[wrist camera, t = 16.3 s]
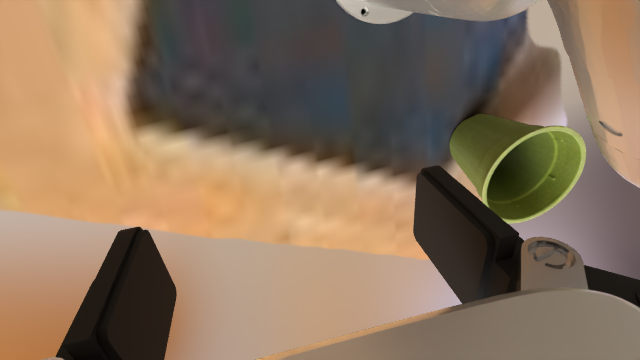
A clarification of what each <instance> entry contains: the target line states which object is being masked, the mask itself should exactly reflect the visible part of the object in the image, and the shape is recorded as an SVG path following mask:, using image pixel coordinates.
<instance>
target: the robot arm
mask: <svg viewBox="0 0 640 360" xmlns="http://www.w3.org/2000/svg"><path fill="white" fill-rule="evenodd" d="M539 1H540V0H336V2H337V3H338V5H339V6H340V7H342V8H343V9H344V10H345V11H346V12H347V13H348V14H350V15H352V16H353V17H355V18H356V19H359V20H362V21H365V22H369V23H374V24H387V23H391V22H396V21H399V20H401V19H403V18H405V17H408V16H409V15H410V14H412V13H413V12H416V13H423V14H429V15H436V16H442V17H449V18H456V19H463V20H471V21H493V20H499V19H503V18H507V17H509V16H512V15H515V14H517V13H520V12H522V11H524V10H526V9H528V8H529V7H531V6H533V5H534V4H536V3H537V2H539ZM547 1H548V3H549V5H550V7H551V9H552V11H553V14H554V17H555V19H556V22H557V25H558V28H559V31H560V34H561V37H562V41H563V44H564V48H565V50H566V52H567V54H568V56H569V58H570V61H571V65H572V68H573V71H574V74H575V78H576V81H577V85H578V88H579V92H580V95H581V98H582V101H583V105H584V108H585V112H586V114H587V118H588V120H589V123H590V126H591V129H592V132H593V135H594V137H595V140H596V142H597V145H598V147H599V149H600V151H601V153H602V154H603V156H604V157H605V159H606V160H607V161H608V163H609V164H610V165H611V166H612V167H613V168H614V169H615V170H616V171H617V172H618V173H619V174H620V175H621V176H622V177H623V178H625V179H626V180H627V181H629V182H631V183H632V184H634V185H636V186H637V187H639V188H640V0H547ZM362 9H364V14H361V10H362ZM413 232H414V236H415V239H416V241H417V242H418V243H419V245H420V246H421V248H422V249H423V250H424V252H425V253H426V254H427V256H428V257H429V258H430V260H431V261H432V263H433V264H434V265H435V267H436V268H437V269H438V271H439V272H440V274H441V275H442V276H443V278H444V279H445V280H446V282H447V283H448V285H449V286H450V287H451V289H452V290H453V291H454V293H455V294H456V295H457V297H458V298H459V300H460V301H461V302H462V304H461V305H456V306H452V307H448V308H445V309H441V310H437V311H434V312H430V313H426V314H422V315H418V316H415V317H411V318H407V319H403V320H399V321H396V322H392V323H389V324H384V325H381V326H377V327H373V328H369V329H366V330H362V331H359V332H355V333H351V334H348V335H343V336H340V337H336V338H332V339H329V340H325V341H321V342H318V343H314V344H310V345H307V346H303V347H299V348H296V349H292V350H289V351H285V352H281V353H277V354H274V355H270V356H267V357H263V358H259V359H256V360H640V280H638V279H634V278H630V277H626V276H623V275H619V274H615V273H612V272H608V271H604V270H601V269H597V268H593V267H589V266H586V265H583V261H582V258H581V256H580V255H579V253H577V251H576V250H575V249H573V248H572V247H570V246H569V245H567V244H565V243H563V242H561V241H559V240H555V239H552V238H546V237H533V238H529V239H527V240H526V241H524V240H523V239H522V238H520V237H519V233H518V232H517V231H516V230H514V229H513V228H512V227H511V226H510V225H509V224H507V223H506V222H505V221H504V220H503V219H502V218H500V217H499V216H498V215H497V214H496V213H494V212H493V211H492V210H491V209H490V208H489V207H487V206H486V205H485V204H484V203H483V202H482V201H480V200H479V199H478V198H477V197H476V196H474V195H473V194H472V193H471V192H470V191H469V190H467V189H466V188H465V187H464V186H463V185H462V184H460V183H459V182H458V181H457V180H456V179H454V178H453V177H452V176H451V175H450V174H449V173H447V172H446V171H445V170H444V169H443V168H442V167H440V166H432V167H428V168H423V169H422V170H421V173H419V174H418V175H417V182H416V198H415V213H414V229H413ZM175 301H176V287H175V285H174V283H173V281H172V279H171V277H170V275H169V272H168V270H167V268H166V266H165V264H164V262H163V260H162V258H161V255H160V253H159V251H158V249H157V247H156V245H155V243H154V241H153V239H152V237H151V235H150V233H149V231H148V230H143V229H142V228H141V227H135V228H130V229H125V230H121V231H119V232H118V234H117V236H116V238H115V240H114V242H113V244H112V246H111V248H110V250H109V252H108V254H107V256H106V258H105V260H104V262H103V264H102V266H101V268H100V270H99V272H98V274H97V276H96V278H95V280H94V281H93V283H92V284H91V286H90V288H89V290H88V292H87V294H86V296H85V298H84V300H83V302H82V304H81V306H80V308H79V310H78V312H77V314H76V316H75V318H74V320H73V322H72V324H71V326H70V328H69V330H68V333H67V334H66V336H65V339H64V341H63V343H62V345H61V347H60V349H59V351H58V353H57V355H56V357H52V358H46V359H43V360H164V357H165V352H166V347H167V342H168V337H169V331H170V327H171V322H172V317H173V311H174V307H175Z"/></svg>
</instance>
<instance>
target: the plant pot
mask: <svg viewBox="0 0 640 360" xmlns="http://www.w3.org/2000/svg"><path fill="white" fill-rule="evenodd" d="M449 146H450V151H451V155H452V157H453V158H454V160H455V161H456V162H457V164H458V165H459V166H460V168H461V169H462V170H463V171H464V173H465V174H466V175H467V177H468V178H469V179H470V181H471V182H472V183H473V185H474V186H475V187H476V189H477V192H478V194H479V195H480V197H481V198H482V202H483V203H484V204H485V205H486V206H487V207H489V208H490V209H491V210H492V211H493V212H494V213H496V214H497V215H498V216H499V217H500V218H502V219H503V220H504V221H505V222H506V223H519V222H524V221H527V220H530V219H533V218H535V217H537V216H540V215H541V214H543V213H545V212H547V211H548V210H550V209H551V208H552V207H554V206H555V205H556V204H558V203H559V202H560V201H561V200H562V199H563V198H564V197H565V196H566V195H567V194H568V192H570V190H571V189H572V188H573V186H574V185H575V184H576V182H577V180H578V179H579V177H580V175H581V173H582V170H583V168H584V164H585V158H586V147H585V143H584V141H583V139H582V137H581V136H580V135H579V134H578V133H577V132H576V131H575V130H573V129H571V128H568V127H564V126H547V127H544V126H538V125H528V124H524V123H520V122H516V121H512V120H508V119H504V118H500V117H496V116H492V115H488V114H477V115H475V116H473V117H470V118H468V119H466V120H464V121H463V122H462V123H460V125H459V126H458V127H457V128H456V129H455V131H454V132H453V134H452V136H451V139H450V145H449Z"/></svg>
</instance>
